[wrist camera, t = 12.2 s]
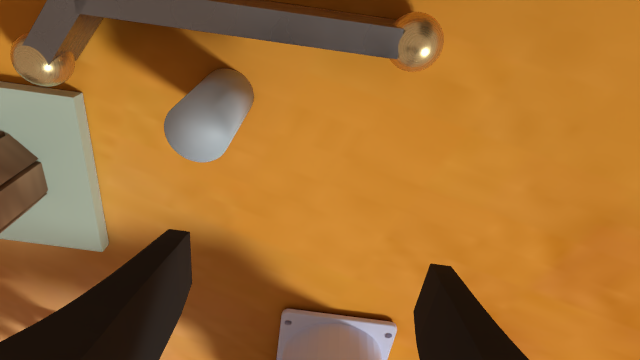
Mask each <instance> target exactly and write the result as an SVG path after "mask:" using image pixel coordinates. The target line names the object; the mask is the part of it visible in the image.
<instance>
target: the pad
mask: <svg viewBox="0 0 640 360" xmlns="http://www.w3.org/2000/svg"><path fill="white" fill-rule="evenodd" d="M0 131H4V133H5V136H6V135H8V134H10V135H11V136H12V137H13V138H14V139H16V140H17V141H18V142H19V143H21V144H22V145H23V146H24V147H25V148H27V149H28V150H29V151H30V152H31V153H33V154H34V155H35V156H36V157H37V158H39V159H38V160H37V161H36V162H41V163H42V167H43V171H44V175H45V179H46V183H47V187H48V191H47V192H46V193H47V194H46V195H45V196H44V197H43V198H42V199H41V200H40V201H38V202H37V203H36V204H35V205H34V206H33V207H32V208H31V209H29V210H28V211H27V212H26V213H25V214H23V215H22V216H21V217H20V218H19V219H17V220H16V221H15V222H14V223H12V224H11V225H10V226H9V227H8V228H6V229H5V230H4V231H3V232H2V233H0V239H6V240H14V241H21V242H29V243H37V244H45V245H52V246H60V247H68V248H75V249H83V250H91V251H98V252H103V251H104V249H105V248H106V247H107V246H108V244H109V241H108V235H107V230H106V224H105V218H104V213H103V207H102V201H101V196H100V190H99V184H98V179H97V173H96V167H95V162H94V156H93V150H92V144H91V139H90V133H89V127H88V122H87V116H86V110H85V105H84V99H83V93H81V92H74V91H67V90H59V89H52V88H45V87H38V86H31V85H24V84H16V83H9V82H2V81H0Z"/></svg>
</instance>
